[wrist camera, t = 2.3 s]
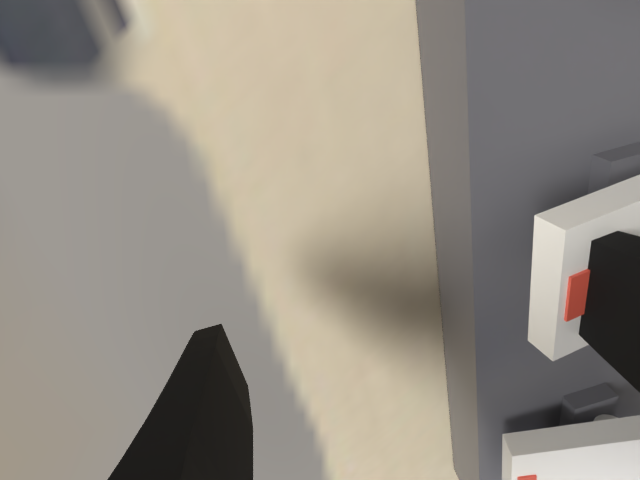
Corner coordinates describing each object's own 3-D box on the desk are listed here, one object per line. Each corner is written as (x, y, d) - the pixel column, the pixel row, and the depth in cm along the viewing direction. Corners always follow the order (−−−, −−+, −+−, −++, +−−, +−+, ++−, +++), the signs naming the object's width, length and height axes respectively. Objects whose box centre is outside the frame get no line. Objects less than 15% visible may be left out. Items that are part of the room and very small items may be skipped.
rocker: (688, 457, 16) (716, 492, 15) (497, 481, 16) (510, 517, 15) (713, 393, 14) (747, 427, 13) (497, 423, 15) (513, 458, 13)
